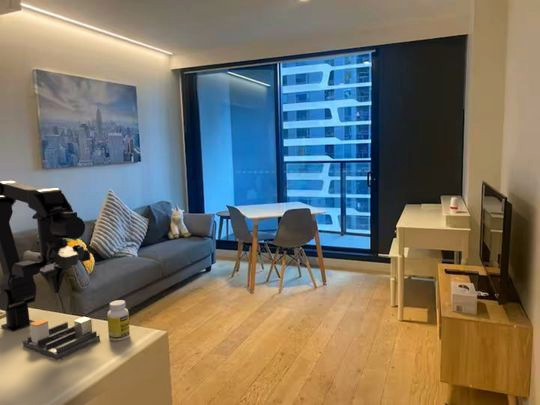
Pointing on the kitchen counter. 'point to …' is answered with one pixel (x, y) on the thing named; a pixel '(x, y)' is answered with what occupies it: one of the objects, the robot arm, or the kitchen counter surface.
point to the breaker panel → (65, 339)
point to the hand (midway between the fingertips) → (56, 292)
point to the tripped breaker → (39, 330)
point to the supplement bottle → (118, 321)
